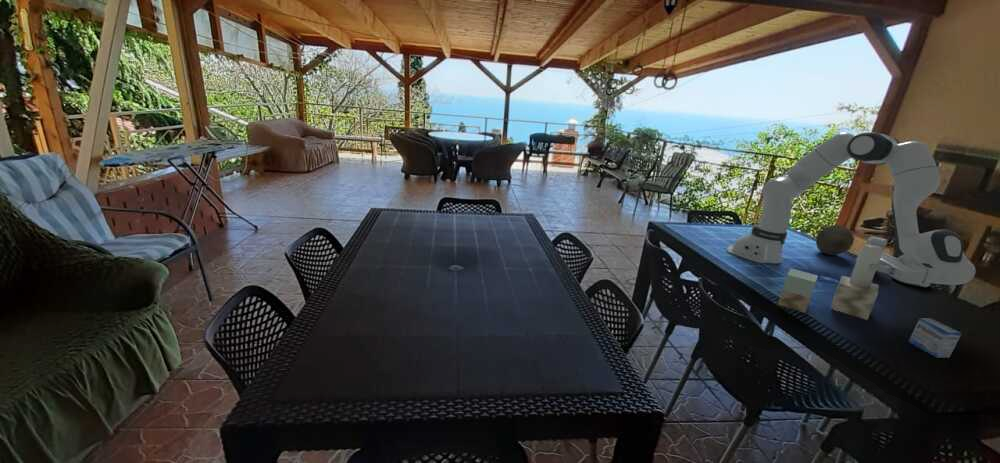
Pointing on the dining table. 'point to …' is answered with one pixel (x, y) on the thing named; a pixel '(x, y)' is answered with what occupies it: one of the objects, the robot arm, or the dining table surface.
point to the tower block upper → (800, 282)
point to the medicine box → (934, 338)
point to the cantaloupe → (834, 240)
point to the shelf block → (854, 298)
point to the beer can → (877, 241)
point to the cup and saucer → (912, 284)
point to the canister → (866, 265)
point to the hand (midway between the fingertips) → (864, 262)
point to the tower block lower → (794, 301)
